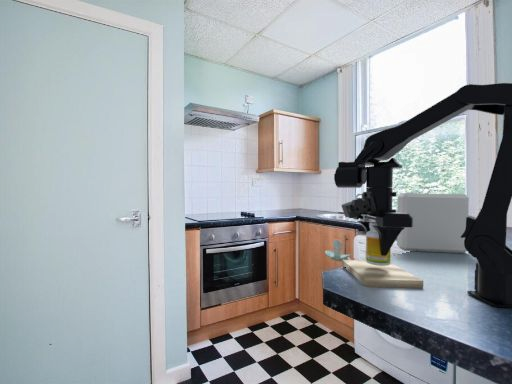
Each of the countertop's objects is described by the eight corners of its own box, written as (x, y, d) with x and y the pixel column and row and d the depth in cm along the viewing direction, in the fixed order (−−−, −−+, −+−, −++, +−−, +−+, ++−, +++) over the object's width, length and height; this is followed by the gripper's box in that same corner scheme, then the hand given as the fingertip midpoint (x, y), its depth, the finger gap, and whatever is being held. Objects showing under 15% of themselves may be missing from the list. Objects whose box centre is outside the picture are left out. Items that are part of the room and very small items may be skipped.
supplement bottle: (393, 267, 60) (394, 224, 60) (368, 265, 61) (369, 223, 61) (386, 261, 65) (387, 221, 65) (363, 259, 66) (364, 221, 66)
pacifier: (330, 256, 82) (322, 259, 77) (331, 236, 82) (323, 238, 77) (354, 260, 77) (347, 264, 73) (355, 239, 77) (347, 241, 73)
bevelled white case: (455, 249, 95) (456, 194, 95) (470, 254, 87) (471, 194, 87) (394, 246, 98) (395, 193, 98) (403, 251, 90) (404, 193, 90)
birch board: (423, 287, 55) (423, 280, 55) (365, 286, 55) (365, 279, 55) (386, 266, 71) (386, 260, 71) (341, 265, 71) (342, 259, 71)
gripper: (334, 188, 72) (333, 244, 72) (360, 186, 54) (359, 262, 54) (374, 188, 72) (374, 245, 72) (415, 187, 54) (414, 263, 54)
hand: (378, 252), depth 63 cm, fingers closed on supplement bottle, 5 cm apart
